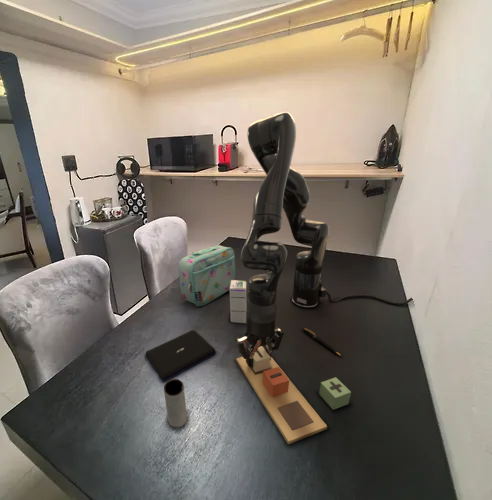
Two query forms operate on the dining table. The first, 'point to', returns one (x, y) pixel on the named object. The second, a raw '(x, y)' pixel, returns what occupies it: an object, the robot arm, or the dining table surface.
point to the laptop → (179, 354)
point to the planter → (175, 402)
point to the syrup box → (238, 301)
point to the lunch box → (207, 274)
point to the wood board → (285, 406)
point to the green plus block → (334, 393)
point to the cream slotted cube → (261, 360)
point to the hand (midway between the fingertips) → (258, 363)
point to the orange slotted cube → (275, 381)
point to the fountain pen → (319, 340)
